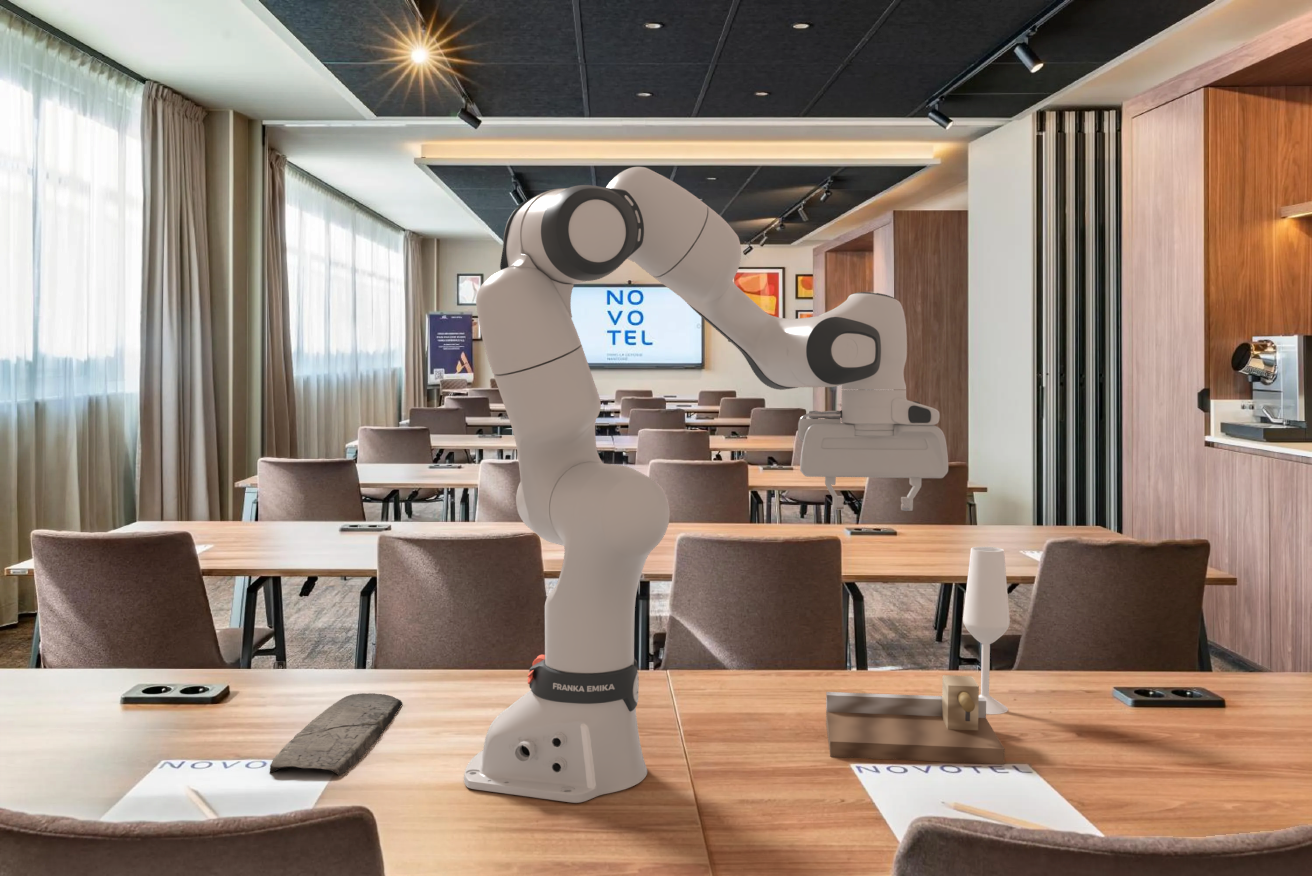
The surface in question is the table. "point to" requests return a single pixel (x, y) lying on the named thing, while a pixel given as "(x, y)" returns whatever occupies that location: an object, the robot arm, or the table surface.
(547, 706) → the robot arm
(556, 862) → the table surface
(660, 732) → the table surface
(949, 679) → the marking gauge
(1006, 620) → the champagne flute
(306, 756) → the stone slab
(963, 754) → the walnut board
